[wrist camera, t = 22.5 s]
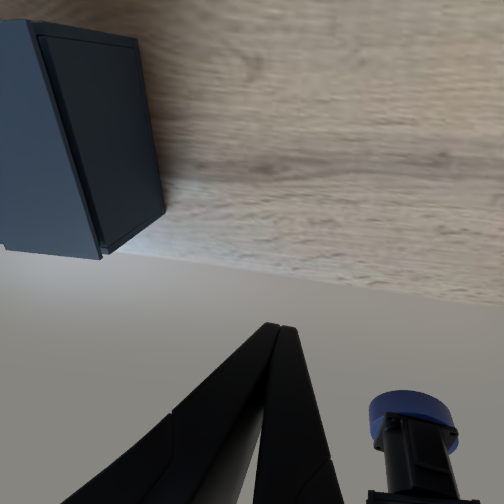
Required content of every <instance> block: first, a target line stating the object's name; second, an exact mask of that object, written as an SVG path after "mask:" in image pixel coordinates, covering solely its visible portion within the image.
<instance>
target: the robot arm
mask: <svg viewBox="0 0 504 504" xmlns="http://www.w3.org/2000/svg"><path fill="white" fill-rule="evenodd" d="M261 428H262V430H261ZM260 431H261V437H260V446H259V454H258V462H257V471H256V480H255V488H254V497H253V504H344V501H343V497H342V494H341V491H340V487H339V484H338V480H337V477H336V473H335V469H334V466H333V462H332V460H331V459H330V458H331V455H330V451H329V447H328V444H327V440H326V436H325V432H324V429H323V425H322V421H321V418H320V414H319V410H318V406H317V402H316V399H315V395H314V391H313V387H312V384H311V380H310V376H309V372H308V369H307V365H306V361H305V357H304V354H303V350H302V347H301V342H300V339H299V335H298V331H297V329H296V328H294V327H289V326H284V325H283V326H280V325H279V324H274V323H269V322H266V323H264V324H263V325H262V326H261V327H260V328H259V329H258V330H257V331H256V332H255V333H254V334H253V335H252V336H250V338H248V339H247V340H246V341H245V342H244V343H243V344H242V345H241V346H240V347H239V348H238V349H237V350H236V351H235V352H234V353H232V354H231V355H230V356H229V357H228V358H227V359H226V360H225V361H224V362H223V363H222V364H221V365H220V366H219V367H218V368H217V369H215V370H214V371H213V372H212V373H211V374H210V375H209V376H208V377H207V378H206V379H205V380H204V381H203V382H202V383H201V384H200V385H199V386H197V387H196V388H195V389H194V390H193V391H192V392H191V393H190V394H189V395H188V396H187V397H186V398H185V399H184V400H183V401H182V402H180V403H179V404H178V405H177V406H176V407H175V408H174V409H173V410H172V414H171V413H169V414H167V416H165V417H164V418H163V419H162V420H161V421H160V422H159V423H158V424H157V425H156V426H155V427H154V428H153V429H152V430H151V431H149V432H148V433H147V434H146V435H145V436H144V437H143V438H142V439H140V440H139V441H138V442H137V443H136V444H135V445H134V446H132V447H131V448H130V449H129V450H127V451H126V452H125V453H124V454H123V455H121V456H120V457H119V458H118V459H116V460H115V461H114V462H113V463H112V464H110V465H109V466H108V467H107V468H105V469H104V470H103V471H101V472H100V473H99V474H98V475H96V476H95V477H94V478H92V479H91V480H90V481H89V482H87V483H86V484H85V485H84V486H82V487H81V488H80V489H78V490H77V491H76V492H75V493H73V494H72V495H71V496H70V497H68V498H67V499H66V500H64V501H63V502H62V503H61V504H236V503H237V500H238V497H239V494H240V491H241V488H242V485H243V482H244V479H245V476H246V473H247V470H248V467H249V464H250V461H251V458H252V455H253V452H254V449H255V446H256V443H257V440H258V437H259V434H260ZM457 437H458V430H457V429H456V428H455V427H452V426H447V425H443V424H439V423H435V422H431V421H427V420H422V419H418V418H414V417H410V416H406V415H402V414H398V413H393V412H386V413H385V414H384V417H383V419H382V422H381V425H380V427H379V430H378V432H377V435H376V438H375V440H374V448H375V449H376V450H378V451H382V452H384V455H385V465H386V475H387V484H388V493H384V492H375V491H374V490H368V499H367V500H366V504H480V501H479V500H472V501H469V500H461V499H460V495H459V492H458V488H457V484H456V481H455V477H454V474H453V470H452V466H451V462H450V458H449V455H448V451H449V449H450V448H451V446H452V445H453V443H454V442H455V440H456V438H457Z"/></svg>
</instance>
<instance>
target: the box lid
mask: <svg viewBox="0 0 504 504" xmlns="http://www.w3.org/2000/svg"><path fill="white" fill-rule="evenodd" d="M0 238H1V240H2V242H3V245H4V247H5V249H6V250H10V251H20V252H29V253H38V254H48V255H57V256H66V257H76V258H84V259H93V260H101V259H102V258H103V256H102V253H101V249H100V246H99V243H98V239H97V236H96V233H95V230H94V226H93V223H92V220H91V216H90V213H89V210H88V206H87V203H86V200H85V197H84V193H83V190H82V187H81V183H80V180H79V177H78V173H77V170H76V167H75V164H74V160H73V157H72V154H71V150H70V147H69V144H68V140H67V137H66V134H65V130H64V127H63V124H62V121H61V117H60V114H59V111H58V107H57V104H56V101H55V97H54V94H53V91H52V88H51V84H50V81H49V78H48V74H47V71H46V68H45V64H44V61H43V58H42V55H41V51H40V48H39V45H38V41H37V38H36V35H35V31H34V28H33V25H32V22H31V20H26V19H19V20H0Z"/></svg>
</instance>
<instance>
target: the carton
mask: <svg viewBox="0 0 504 504" xmlns="http://www.w3.org/2000/svg"><path fill="white" fill-rule="evenodd" d="M31 22H32V25H33V28H34V31H35V35H36V38H37V41H38V45H39V48H40V51H41V55H42V58H43V61H44V64H45V68H46V71H47V74H48V78H49V81H50V84H51V88H52V91H53V94H54V97H55V101H56V104H57V107H58V111H59V114H60V117H61V121H62V124H63V127H64V128H65V130H66V133H67V136H68V140H69V143H70V146H71V150H72V153H73V156H74V160H75V163H76V166H77V170H78V173H79V176H80V180H81V183H82V186H83V190H84V193H85V196H86V200H87V203H88V206H89V210H90V213H91V214H90V216H91V220H92V223H93V226H94V230H95V233H96V236H97V239H98V243H99V246H100V249H101V253H102V254H108V255H109V254H111V253H112V252H114V251H115V250H117V249H118V248H119V247H121V246H122V245H123V244H125V243H126V242H127V241H129V240H130V239H131V238H133V237H134V236H135V235H137V234H138V233H140V232H141V231H142V230H144V229H145V228H146V227H148V226H149V225H150V224H152V223H153V222H154V221H156V220H157V219H158V218H160V217H161V216H163V215H164V214H165V207H164V201H163V195H162V189H161V183H160V177H159V171H158V164H157V158H156V152H155V146H154V140H153V134H152V128H151V121H150V115H149V109H148V103H147V97H146V91H145V85H144V79H143V72H142V66H141V60H140V54H139V48H138V42H137V39H136V38H130V37H125V36H120V35H115V34H109V33H104V32H99V31H94V30H88V29H83V28H78V27H73V26H67V25H62V24H57V23H52V22H46V21H31ZM0 244H3V242H2V240H1V238H0Z"/></svg>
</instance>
